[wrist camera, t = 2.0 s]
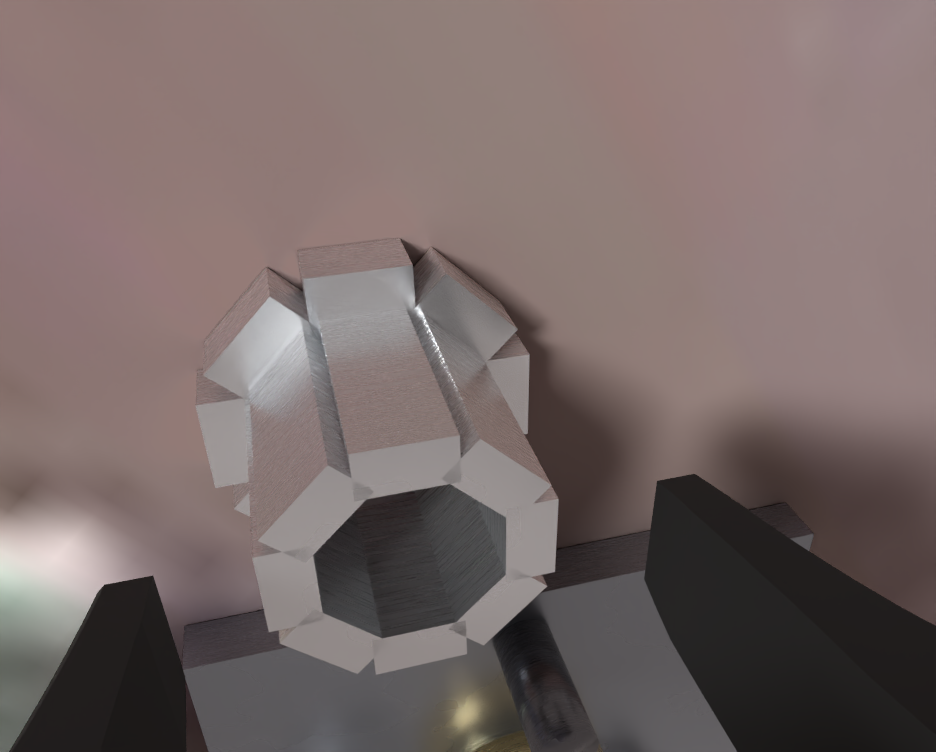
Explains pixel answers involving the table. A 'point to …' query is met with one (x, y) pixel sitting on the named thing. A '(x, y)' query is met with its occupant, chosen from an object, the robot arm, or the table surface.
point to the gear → (379, 455)
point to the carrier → (478, 676)
